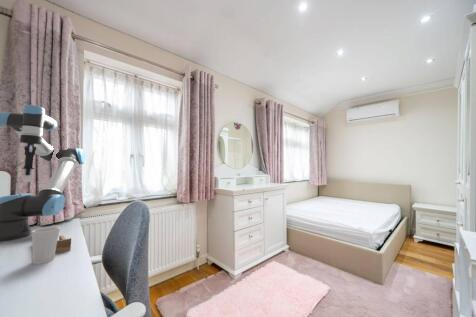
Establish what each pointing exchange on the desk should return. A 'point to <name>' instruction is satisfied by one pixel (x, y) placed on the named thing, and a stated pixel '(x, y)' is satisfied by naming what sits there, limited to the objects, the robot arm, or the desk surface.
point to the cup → (44, 244)
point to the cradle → (63, 244)
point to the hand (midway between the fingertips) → (26, 181)
